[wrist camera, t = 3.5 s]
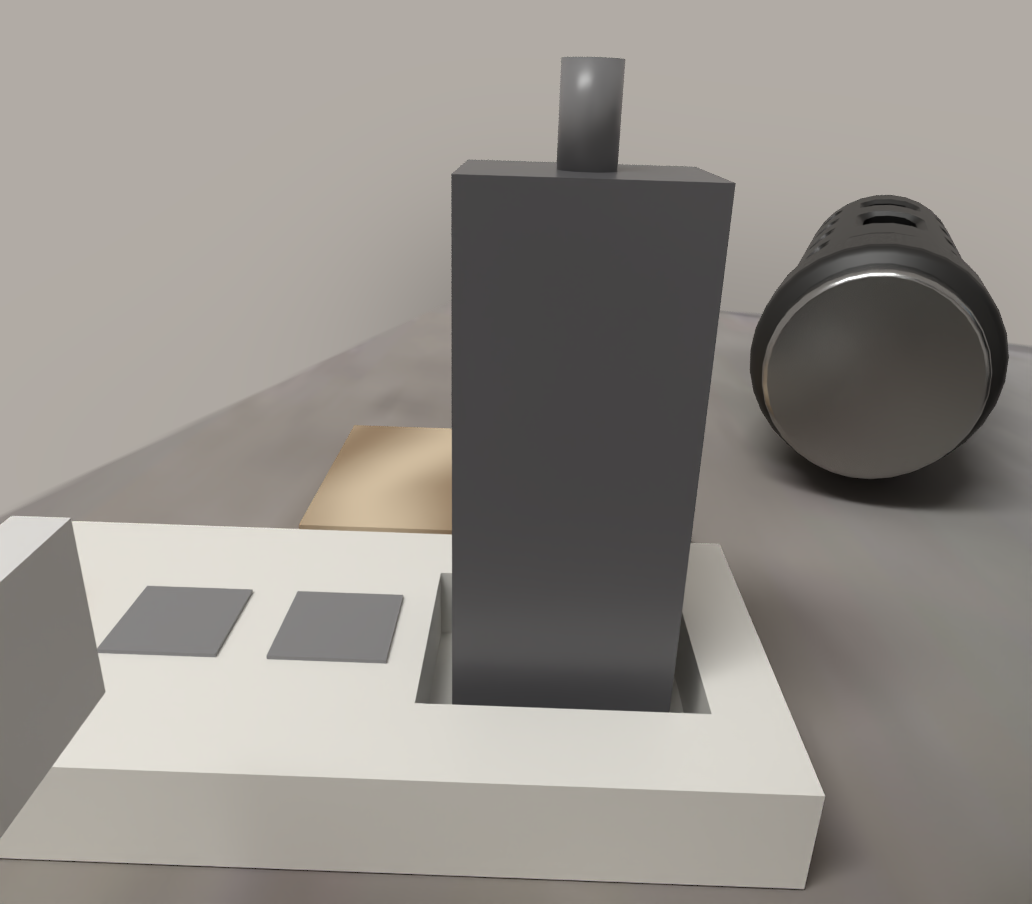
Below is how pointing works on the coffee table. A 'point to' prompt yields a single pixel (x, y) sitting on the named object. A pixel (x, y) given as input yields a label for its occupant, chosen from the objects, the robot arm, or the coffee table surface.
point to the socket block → (399, 728)
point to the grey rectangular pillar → (578, 410)
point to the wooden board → (387, 483)
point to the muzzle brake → (879, 344)
